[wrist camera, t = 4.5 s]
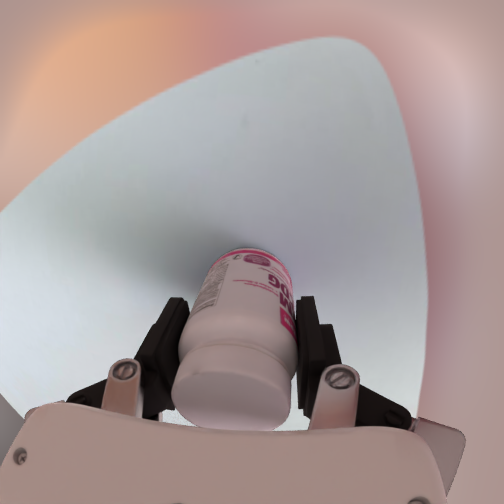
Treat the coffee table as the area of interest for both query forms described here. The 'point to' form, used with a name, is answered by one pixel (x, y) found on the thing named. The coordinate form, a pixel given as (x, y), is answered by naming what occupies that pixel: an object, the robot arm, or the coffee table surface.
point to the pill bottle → (239, 346)
